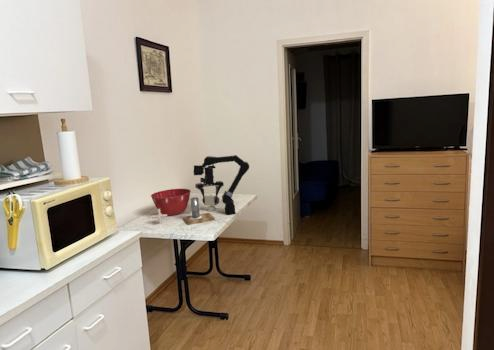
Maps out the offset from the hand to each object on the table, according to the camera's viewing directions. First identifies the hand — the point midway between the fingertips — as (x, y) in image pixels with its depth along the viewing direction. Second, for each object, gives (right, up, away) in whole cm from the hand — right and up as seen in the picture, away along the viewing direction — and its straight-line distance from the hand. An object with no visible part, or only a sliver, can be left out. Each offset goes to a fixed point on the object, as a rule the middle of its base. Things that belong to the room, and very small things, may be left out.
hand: (210, 197), depth 260 cm
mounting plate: (-7, -15, -8) cm, 18 cm away
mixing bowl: (-29, -13, +15) cm, 35 cm away
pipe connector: (-32, -17, -9) cm, 38 cm away
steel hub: (-9, -13, -9) cm, 18 cm away
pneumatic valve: (0, -11, +15) cm, 18 cm away
